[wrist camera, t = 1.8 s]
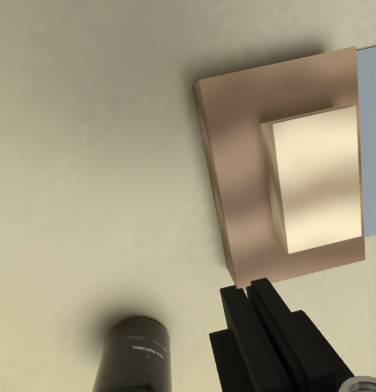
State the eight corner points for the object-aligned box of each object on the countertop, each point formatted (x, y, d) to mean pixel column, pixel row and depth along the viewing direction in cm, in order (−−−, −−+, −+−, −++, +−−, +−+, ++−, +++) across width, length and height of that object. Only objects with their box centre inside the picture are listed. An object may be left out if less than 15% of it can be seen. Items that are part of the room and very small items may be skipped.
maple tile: (260, 123, 22) (272, 124, 19) (334, 107, 22) (355, 105, 20) (275, 240, 24) (288, 253, 22) (341, 224, 25) (361, 236, 22)
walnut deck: (192, 86, 24) (199, 79, 20) (325, 57, 25) (356, 46, 21) (227, 268, 29) (238, 291, 25) (338, 241, 30) (365, 259, 26)
